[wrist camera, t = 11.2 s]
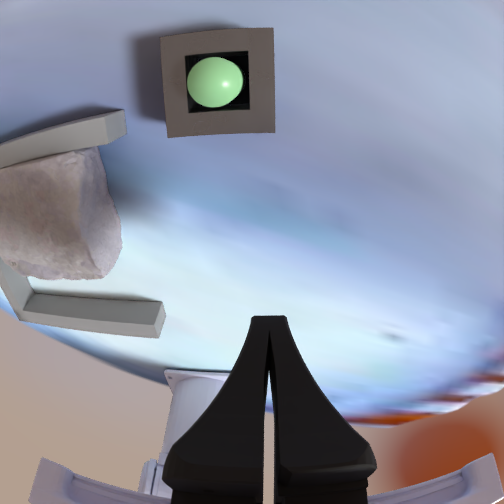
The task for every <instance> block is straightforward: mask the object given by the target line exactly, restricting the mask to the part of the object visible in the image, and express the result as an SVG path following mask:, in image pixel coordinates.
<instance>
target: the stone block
mask: <svg viewBox="0 0 504 504" xmlns="http://www.w3.org/2000/svg"><path fill="white" fill-rule="evenodd" d="M121 249H122V239H121V224H120V218H119V216H118V213H117V211H116V209H115V206H114V201H113V199H112V198H111V196H110V195H109V191H108V186H107V178H106V172H105V169H104V166H103V163H102V160H101V157H100V151H99V148H98V146H93V147H88V148H82V149H77V150H72V151H67V152H62V153H58V154H53V155H49V156H45V157H41V158H36V159H32V160H29V161H25V162H21V163H17V164H14V165H10V166H7V167H3V168H0V256H1V258H2V260H3V261H4V263H5V264H7V265H9V266H10V267H11V268H12V270H13V271H15V272H17V273H18V274H20V275H21V276H24V277H27V276H34V277H36V278H39V279H45V280H58V279H63V278H65V279H70V280H80V279H83V278H84V279H86V280H89V279H102V278H104V277H105V276H106V275H107V274H108V273H109V272H110V270H111V269H112V268H113V267H114V264H115V263H116V260H117V259H118V256H119V254H120V251H121Z"/></svg>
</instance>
